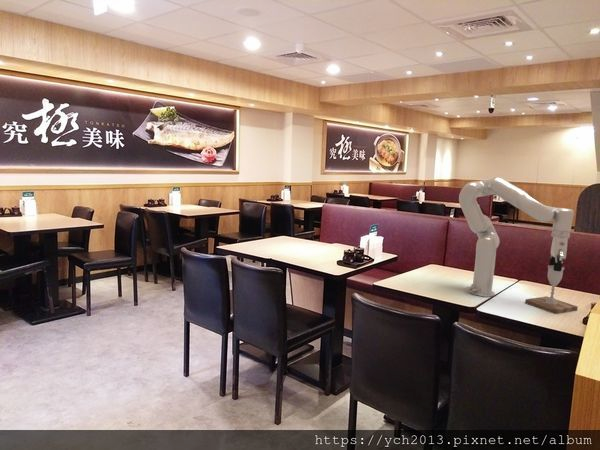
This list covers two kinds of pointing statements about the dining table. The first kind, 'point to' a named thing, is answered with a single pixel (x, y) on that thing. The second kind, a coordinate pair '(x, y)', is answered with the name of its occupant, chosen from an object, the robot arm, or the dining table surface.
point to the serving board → (551, 305)
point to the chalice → (553, 282)
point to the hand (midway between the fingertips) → (554, 268)
